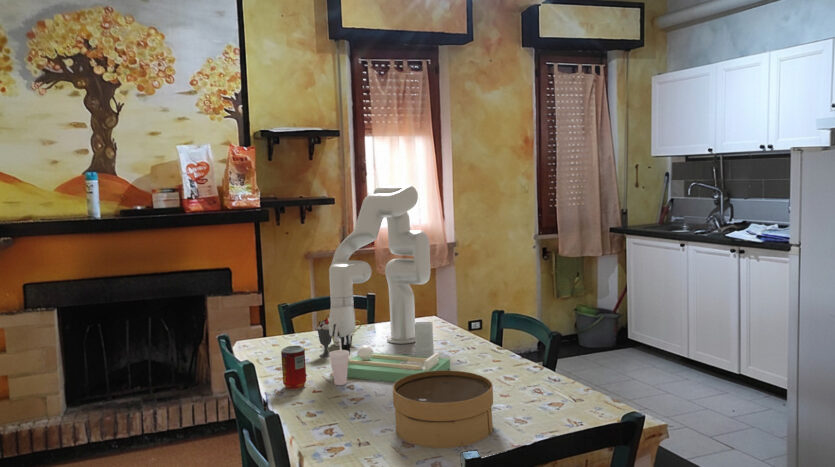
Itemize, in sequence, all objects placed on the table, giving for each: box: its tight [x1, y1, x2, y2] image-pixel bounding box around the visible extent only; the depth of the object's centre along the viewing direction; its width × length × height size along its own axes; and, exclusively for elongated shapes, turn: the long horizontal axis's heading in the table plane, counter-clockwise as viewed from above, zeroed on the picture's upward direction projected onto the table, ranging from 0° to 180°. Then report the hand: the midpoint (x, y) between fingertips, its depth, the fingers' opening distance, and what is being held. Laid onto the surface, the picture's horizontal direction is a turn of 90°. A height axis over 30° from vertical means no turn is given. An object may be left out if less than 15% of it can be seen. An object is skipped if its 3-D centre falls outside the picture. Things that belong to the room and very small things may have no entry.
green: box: [347, 352, 451, 383], centre depth 207 cm, size 18×32×6 cm, turn 67°
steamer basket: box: [392, 370, 494, 449], centre depth 159 cm, size 25×25×11 cm
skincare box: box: [415, 321, 435, 357], centre depth 223 cm, size 6×4×12 cm
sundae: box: [315, 314, 333, 358], centre depth 229 cm, size 7×7×15 cm
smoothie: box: [328, 339, 351, 386], centre depth 197 cm, size 6×6×14 cm
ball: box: [357, 344, 374, 361], centre depth 211 cm, size 5×5×5 cm
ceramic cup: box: [327, 318, 362, 347], centre depth 245 cm, size 13×10×10 cm
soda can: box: [280, 345, 307, 391], centre depth 196 cm, size 7×7×12 cm
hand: (344, 355), depth 214 cm, fingers closed
